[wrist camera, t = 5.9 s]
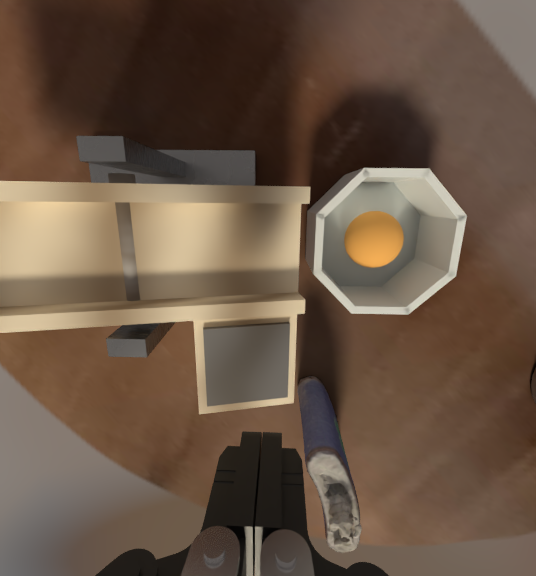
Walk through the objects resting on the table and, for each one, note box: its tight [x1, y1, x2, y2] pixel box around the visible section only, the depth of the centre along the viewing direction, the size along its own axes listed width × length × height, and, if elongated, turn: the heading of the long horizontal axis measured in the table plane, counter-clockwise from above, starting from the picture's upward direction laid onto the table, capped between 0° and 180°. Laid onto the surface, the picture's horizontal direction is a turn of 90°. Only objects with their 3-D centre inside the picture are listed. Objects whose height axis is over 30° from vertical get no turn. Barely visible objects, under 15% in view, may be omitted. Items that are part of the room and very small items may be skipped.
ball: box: [344, 211, 404, 268], centre depth 22 cm, size 4×4×4 cm
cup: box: [305, 168, 467, 314], centre depth 22 cm, size 9×9×6 cm
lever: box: [0, 173, 310, 414], centre depth 16 cm, size 18×14×3 cm
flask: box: [298, 376, 361, 553], centre depth 24 cm, size 9×3×11 cm, turn 15°
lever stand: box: [76, 136, 256, 357], centre depth 20 cm, size 12×12×11 cm
